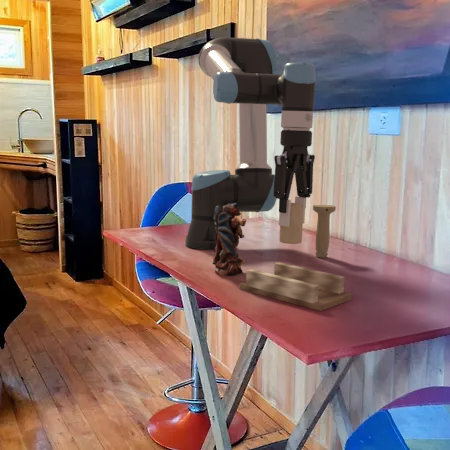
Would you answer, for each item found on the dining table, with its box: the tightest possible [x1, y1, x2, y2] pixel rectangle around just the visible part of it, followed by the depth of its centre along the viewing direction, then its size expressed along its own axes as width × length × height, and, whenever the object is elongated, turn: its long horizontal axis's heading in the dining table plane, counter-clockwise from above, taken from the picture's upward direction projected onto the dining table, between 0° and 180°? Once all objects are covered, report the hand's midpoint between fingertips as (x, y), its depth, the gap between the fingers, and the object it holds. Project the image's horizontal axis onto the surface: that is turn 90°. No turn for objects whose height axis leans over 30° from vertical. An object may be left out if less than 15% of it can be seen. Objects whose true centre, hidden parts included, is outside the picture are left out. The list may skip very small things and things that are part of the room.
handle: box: [312, 204, 337, 259], centre depth 163 cm, size 5×6×15 cm
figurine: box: [212, 203, 247, 277], centre depth 143 cm, size 11×9×18 cm
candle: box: [279, 202, 303, 245], centre depth 140 cm, size 6×6×10 cm
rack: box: [239, 261, 353, 312], centre depth 126 cm, size 22×12×5 cm, turn 47°
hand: (291, 224), depth 140 cm, fingers closed on candle, 5 cm apart
